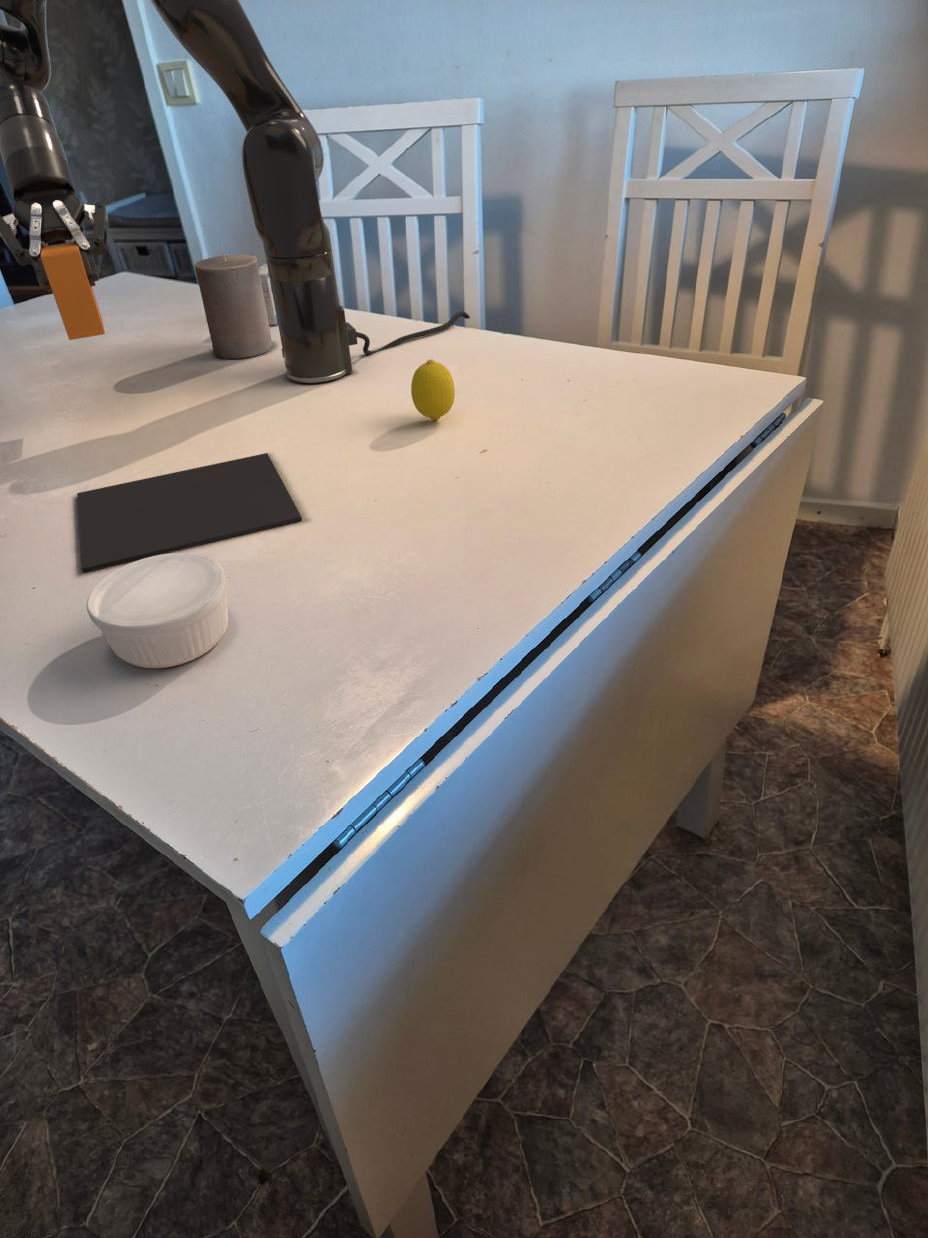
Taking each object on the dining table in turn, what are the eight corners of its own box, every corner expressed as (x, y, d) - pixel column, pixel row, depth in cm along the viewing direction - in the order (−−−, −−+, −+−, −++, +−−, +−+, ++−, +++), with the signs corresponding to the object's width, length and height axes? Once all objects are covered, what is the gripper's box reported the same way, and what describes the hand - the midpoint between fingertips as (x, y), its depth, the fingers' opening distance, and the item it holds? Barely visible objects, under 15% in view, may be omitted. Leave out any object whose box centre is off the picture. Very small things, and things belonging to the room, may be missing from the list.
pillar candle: (203, 351, 134) (180, 254, 125) (255, 336, 139) (236, 242, 131) (232, 363, 128) (210, 262, 119) (285, 347, 133) (267, 250, 125)
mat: (268, 456, 99) (267, 452, 99) (302, 520, 86) (301, 516, 85) (78, 496, 93) (77, 492, 93) (83, 572, 79) (81, 568, 79)
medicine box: (276, 325, 144) (266, 274, 139) (253, 325, 145) (242, 274, 140) (292, 312, 150) (284, 262, 145) (270, 312, 151) (261, 263, 146)
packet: (102, 320, 110) (77, 241, 104) (105, 334, 105) (78, 251, 99) (68, 326, 109) (41, 246, 103) (69, 340, 104) (40, 256, 98)
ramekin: (113, 611, 74) (95, 562, 70) (238, 591, 75) (225, 542, 72) (97, 690, 65) (75, 638, 62) (239, 664, 66) (224, 612, 63)
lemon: (463, 415, 106) (459, 354, 102) (445, 431, 102) (440, 369, 98) (426, 410, 108) (420, 350, 104) (406, 426, 104) (400, 364, 100)
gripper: (-35, 150, 98) (0, 276, 96) (89, 137, 102) (124, 258, 100) (-14, 193, 105) (18, 311, 103) (101, 180, 109) (134, 293, 107)
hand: (70, 284), depth 102 cm, fingers closed on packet, 4 cm apart
